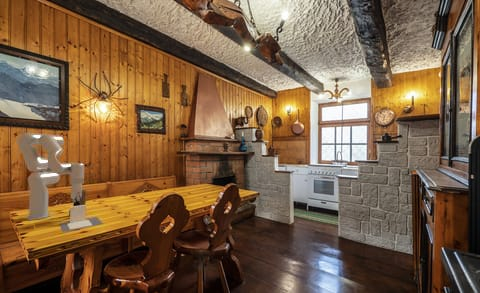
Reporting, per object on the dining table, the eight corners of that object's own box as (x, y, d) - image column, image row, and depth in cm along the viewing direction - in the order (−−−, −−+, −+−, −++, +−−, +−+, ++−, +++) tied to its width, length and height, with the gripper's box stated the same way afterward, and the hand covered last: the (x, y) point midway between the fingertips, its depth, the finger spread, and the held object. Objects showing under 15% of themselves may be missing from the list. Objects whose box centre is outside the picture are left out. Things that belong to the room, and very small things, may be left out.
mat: (59, 224, 134) (59, 223, 134) (96, 217, 148) (96, 216, 148) (62, 233, 120) (62, 231, 120) (103, 224, 134) (103, 223, 134)
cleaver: (69, 217, 147) (70, 191, 148) (69, 216, 151) (69, 190, 151) (85, 215, 153) (86, 190, 154) (84, 213, 157) (85, 189, 157)
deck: (69, 222, 136) (70, 206, 136) (84, 219, 142) (85, 204, 142) (70, 223, 134) (70, 207, 135) (85, 220, 140) (85, 205, 140)
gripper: (68, 180, 147) (67, 207, 146) (71, 183, 136) (70, 211, 136) (82, 179, 152) (81, 205, 152) (85, 181, 142) (85, 209, 141)
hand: (76, 208), depth 144 cm, fingers closed
